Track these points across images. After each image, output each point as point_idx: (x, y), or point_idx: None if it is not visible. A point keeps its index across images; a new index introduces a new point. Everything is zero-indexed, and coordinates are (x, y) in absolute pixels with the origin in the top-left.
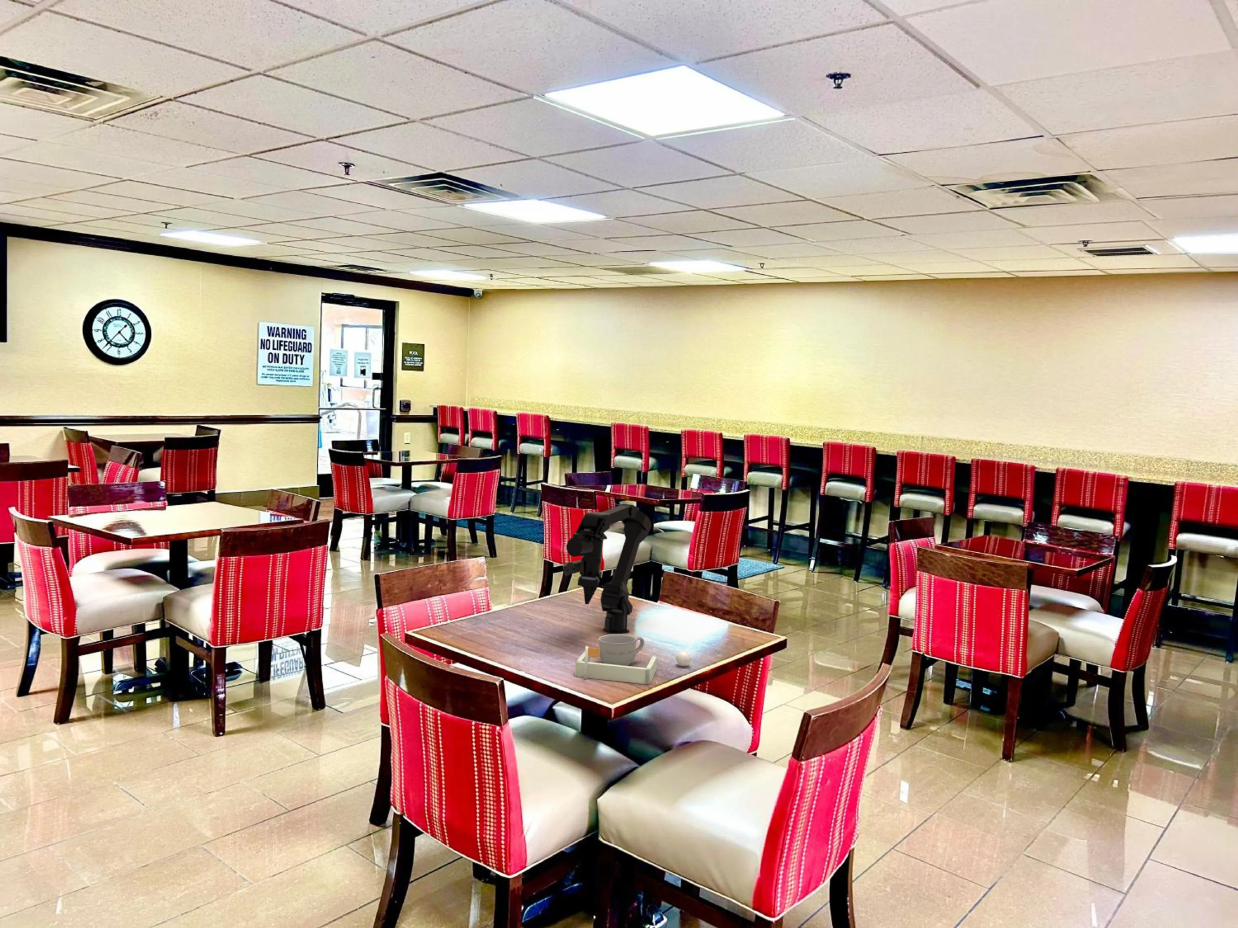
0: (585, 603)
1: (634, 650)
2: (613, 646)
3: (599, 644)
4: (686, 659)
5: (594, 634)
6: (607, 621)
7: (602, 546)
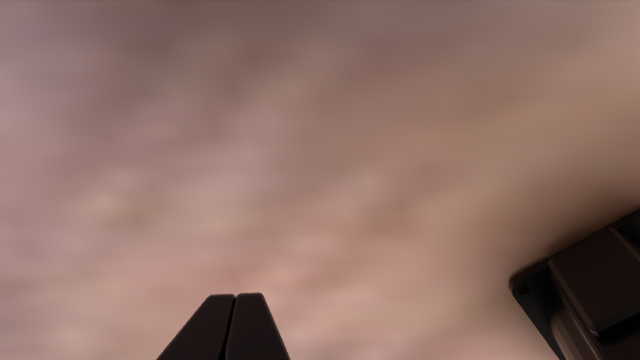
0: (205, 305)
1: None
2: None
3: None
4: None
5: (505, 147)
6: (606, 291)
7: None
